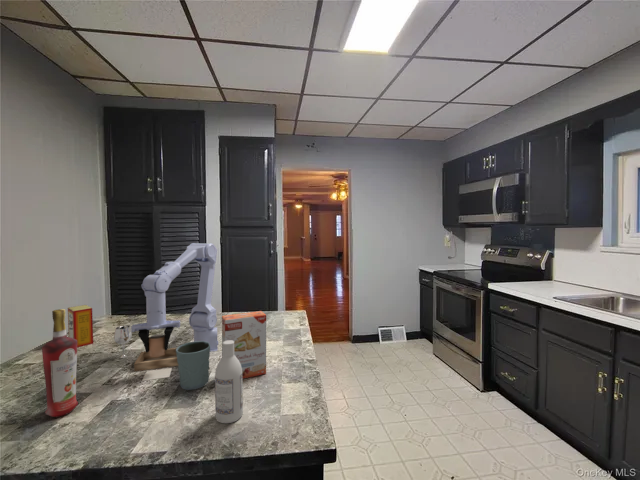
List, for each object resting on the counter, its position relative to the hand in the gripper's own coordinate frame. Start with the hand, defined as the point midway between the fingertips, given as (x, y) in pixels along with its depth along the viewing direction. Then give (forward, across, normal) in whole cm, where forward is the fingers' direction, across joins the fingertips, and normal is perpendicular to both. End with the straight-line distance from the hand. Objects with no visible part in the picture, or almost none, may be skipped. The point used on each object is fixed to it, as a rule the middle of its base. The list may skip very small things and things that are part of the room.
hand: (157, 350), depth 104 cm
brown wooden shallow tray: (+9, 0, +10) cm, 14 cm away
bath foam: (+9, +22, -32) cm, 39 cm away
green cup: (+9, +12, -10) cm, 18 cm away
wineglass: (+9, -15, +20) cm, 27 cm away
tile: (+9, 0, 0) cm, 9 cm away
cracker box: (+9, +28, -10) cm, 31 cm away
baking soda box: (+9, -37, +44) cm, 59 cm away
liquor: (+9, -21, -14) cm, 27 cm away
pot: (+2, 0, 0) cm, 2 cm away
